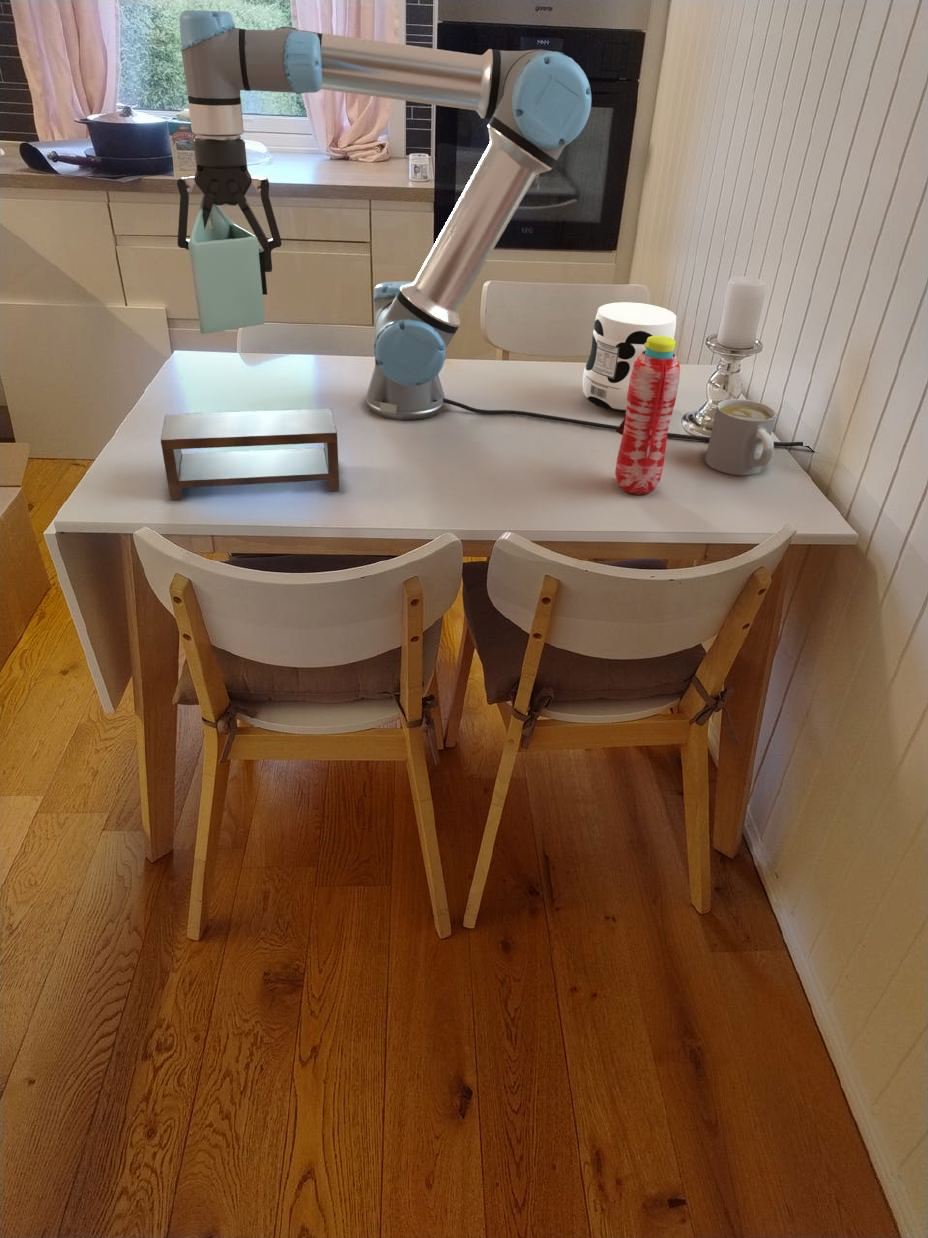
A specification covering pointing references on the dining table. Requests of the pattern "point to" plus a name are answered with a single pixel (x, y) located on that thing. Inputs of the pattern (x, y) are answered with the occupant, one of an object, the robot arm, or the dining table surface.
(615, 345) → the milk container
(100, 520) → the dining table surface
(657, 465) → the water bottle
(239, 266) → the planter
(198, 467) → the shelf
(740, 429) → the coffee mug
